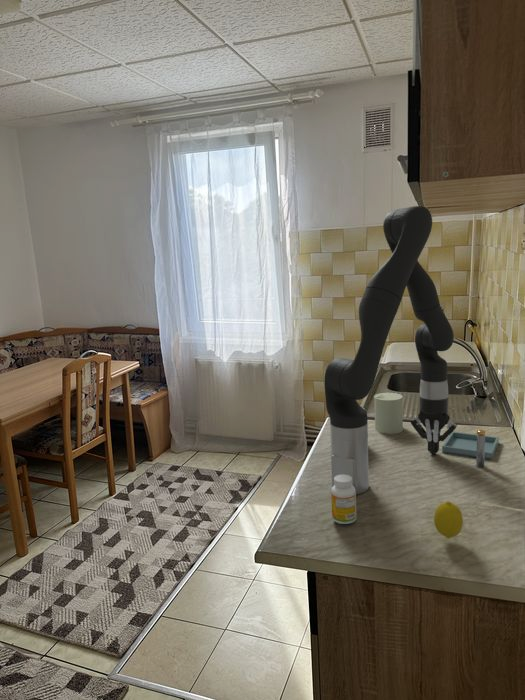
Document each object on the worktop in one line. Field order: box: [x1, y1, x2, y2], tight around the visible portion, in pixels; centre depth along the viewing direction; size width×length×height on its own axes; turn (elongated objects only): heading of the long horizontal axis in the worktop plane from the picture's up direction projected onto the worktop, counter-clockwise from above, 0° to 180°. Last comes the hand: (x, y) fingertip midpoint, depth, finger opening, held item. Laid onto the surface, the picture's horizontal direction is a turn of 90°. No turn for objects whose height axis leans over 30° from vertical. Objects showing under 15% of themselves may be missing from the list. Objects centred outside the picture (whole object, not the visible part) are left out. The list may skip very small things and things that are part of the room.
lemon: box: [433, 500, 464, 539], centre depth 104 cm, size 6×6×8 cm
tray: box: [441, 431, 500, 461], centre depth 149 cm, size 13×13×2 cm
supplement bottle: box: [330, 475, 357, 525], centre depth 113 cm, size 5×5×10 cm
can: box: [373, 392, 404, 435], centre depth 167 cm, size 9×9×12 cm
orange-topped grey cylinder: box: [475, 429, 486, 469], centre depth 136 cm, size 2×2×10 cm
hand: (433, 453), depth 146 cm, fingers closed
